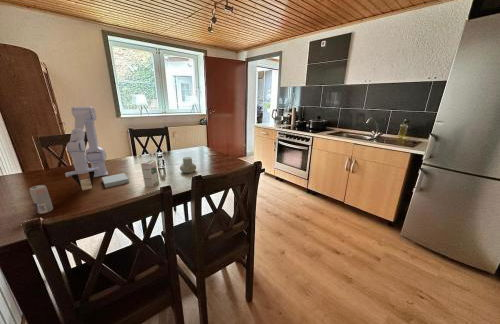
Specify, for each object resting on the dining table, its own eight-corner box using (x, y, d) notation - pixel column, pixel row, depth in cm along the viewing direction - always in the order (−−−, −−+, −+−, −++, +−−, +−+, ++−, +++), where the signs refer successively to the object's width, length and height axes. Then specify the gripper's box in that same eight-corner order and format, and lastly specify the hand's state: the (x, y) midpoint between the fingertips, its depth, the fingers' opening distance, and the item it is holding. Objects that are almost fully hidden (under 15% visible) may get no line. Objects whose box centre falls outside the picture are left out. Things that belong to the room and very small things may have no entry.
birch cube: (82, 187, 116) (80, 180, 115) (91, 185, 119) (89, 178, 118) (82, 190, 113) (80, 183, 112) (92, 188, 116) (90, 181, 114)
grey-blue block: (103, 181, 125) (102, 177, 125) (125, 177, 133) (124, 172, 132) (105, 188, 117) (104, 183, 116) (129, 183, 124) (128, 178, 123)
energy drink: (44, 208, 96) (36, 184, 92) (56, 207, 96) (49, 184, 92) (34, 214, 90) (24, 190, 87) (46, 213, 91) (38, 189, 87)
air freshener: (185, 175, 136) (184, 161, 133) (178, 172, 141) (176, 158, 137) (198, 170, 144) (197, 157, 141) (191, 168, 149) (190, 155, 146)
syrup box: (153, 187, 118) (149, 163, 114) (144, 186, 119) (140, 162, 115) (159, 183, 123) (156, 160, 119) (150, 182, 125) (147, 159, 120)
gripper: (62, 167, 104) (69, 191, 108) (97, 162, 113) (102, 184, 117) (63, 164, 109) (69, 187, 113) (96, 159, 118) (101, 180, 122)
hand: (86, 185), depth 116 cm, fingers closed on birch cube, 4 cm apart
